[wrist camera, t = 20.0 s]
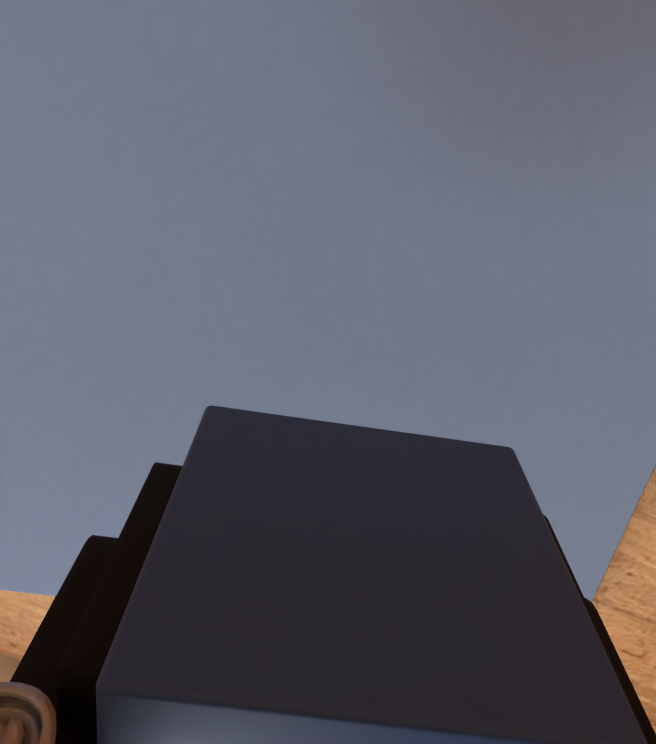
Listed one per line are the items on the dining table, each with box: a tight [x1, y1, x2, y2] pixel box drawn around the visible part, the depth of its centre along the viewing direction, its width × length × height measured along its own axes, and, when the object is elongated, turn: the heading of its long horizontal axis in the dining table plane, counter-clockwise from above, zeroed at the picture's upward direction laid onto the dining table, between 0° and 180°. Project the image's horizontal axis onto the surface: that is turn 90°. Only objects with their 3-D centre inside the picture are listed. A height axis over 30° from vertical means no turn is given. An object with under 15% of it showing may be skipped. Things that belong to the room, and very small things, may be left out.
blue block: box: [96, 405, 648, 744], centre depth 9 cm, size 5×5×5 cm
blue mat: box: [0, 0, 656, 602], centre depth 17 cm, size 20×20×1 cm
